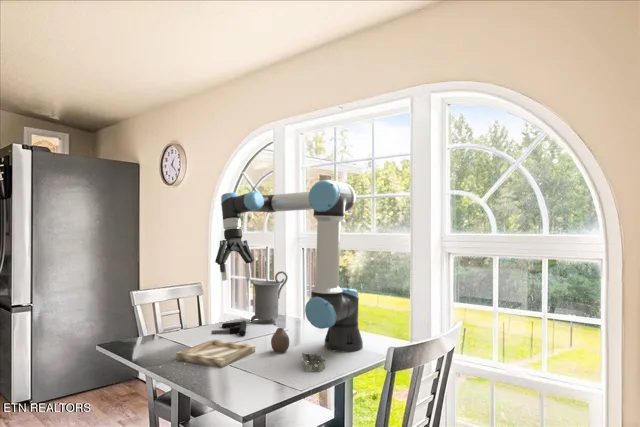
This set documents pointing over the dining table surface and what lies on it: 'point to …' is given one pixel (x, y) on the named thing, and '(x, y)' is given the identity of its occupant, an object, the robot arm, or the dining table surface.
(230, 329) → the door handle
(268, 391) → the dining table surface
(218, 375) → the dining table surface
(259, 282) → the mug
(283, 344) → the vase
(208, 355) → the tray
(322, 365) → the egg carton
